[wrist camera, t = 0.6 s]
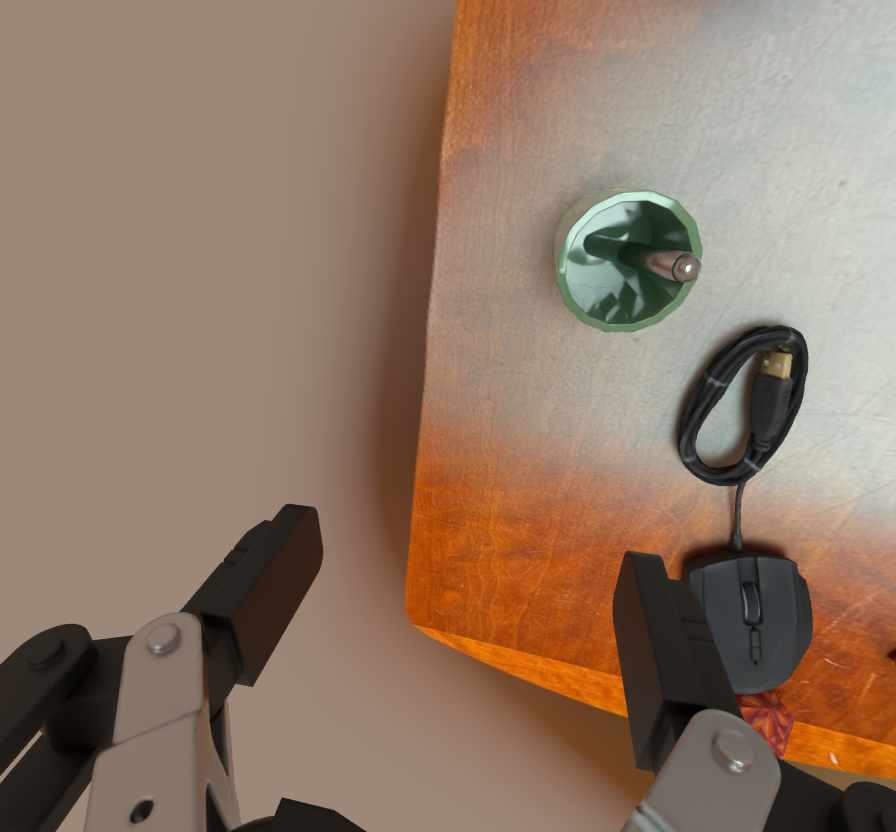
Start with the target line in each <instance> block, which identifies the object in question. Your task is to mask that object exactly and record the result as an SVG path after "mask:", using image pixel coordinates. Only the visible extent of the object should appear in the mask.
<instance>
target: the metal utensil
mask: <svg viewBox="0 0 896 832" xmlns="http://www.w3.org/2000/svg"><path fill="white" fill-rule="evenodd" d="M584 248H585V251H586V253H587V254H589V255H591V256H594V257H597V258H600V259H604V260H607V261H610V262H614V263H617V264H620V265H624V266H627V267H630V268H634V269H637V270H640V271H644V272H647V273H650V274H654V275H657V276H660V277H664V278H667V279H670V280H674V281H677V282H681V283H685V282H690V281H692V280H694V279H695V278H696V277H697V276H698V275H699V273H700V271H701V268H702V263H701V260H700V258H699V257H698V256H697V255H695V254H693V253H689V252H684V251H678V250H673V249H668V248H663V247H658V246H653V245H648V244H643V243H638V242H632V241H627V240H622V239H617V238H612V237H607V236H602V235H592V236H590V237H589V238H588V239H587V240H586V242H585V245H584Z"/></svg>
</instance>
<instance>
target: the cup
mask: <svg viewBox="0 0 896 832" xmlns="http://www.w3.org/2000/svg"><path fill="white" fill-rule="evenodd" d="M592 235H602V236H607V237H612V238H617V239H622V240H627V241H632V242H638V243H643V244H648V245H653V246H658V247H663V248H668V249H673V250H678V251H684V252H689V253H693V254H695V255H697V256H698V257H699V258H700V260H701V257H702V249H703V248H702V244H701V240H700V236H699V232H698V228H697V224H696V223H695V220H694V219H693V218H692V217H691V216H690V215H689V213H688V212H687V211H686V210H685V209H684V208H683V207H682V205H681V204H680V203H679V202H677V201H676V200H674V199H671V198H669V197H666V196H664V195H661V194H659V193H656V192H654V191H650V190H639V189H627V188H607V189H598V190H596V191H594V192H591V193H589V194H587V195H585V196H583V197H582V198H580V199H578V200H577V201H576V202H575V203H574V204H573V205H572V206H571V207H570V208H569V209H568V210H567V211H566V213H565V214H564V216H563V217H562V219H561V221H560V223H559V225H558V227H557V230H556V233H555V236H554V262H555V270H556V277H557V283H558V286H559V289H560V292H561V294H562V297H563V300H564V302H565V305H566V306H567V307H568V308H569V309H570V310H571V311H572V312H573V313H574V314H575V315H576V316H577V317H578V318H579V319H580V320H581V322H583V323H584V324H587V325H589V326H592V327H594V328H597V329H599V330H602V331H604V332H632V331H633V332H634V331H637V330H640V329H642V328H645V327H648V326H651V325H653V324H656V323H658V322H660V321H661V320H663V319H664V318H665V317H666V316H668V315H669V314H670V313H671V312H672V311H674V310H675V309H676V308H677V307H679V306H680V305H681V303H683V301H684V300H685V298H686V296H687V295H688V293H689V291H690V290H691V288H692V287H693V285H694V283H695V282H696V280H697V278H698V276H697V277H696V278H695V279H694V280H692V281H690V282H685V283H681V282H677V281H674V280H670V279H667V278H664V277H660V276H657V275H654V274H650V273H647V272H644V271H640V270H637V269H634V268H630V267H627V266H624V265H620V264H617V263H614V262H610V261H607V260H604V259H600V258H597V257H594V256H591V255H589V254H587V253H586V251H585V248H584V245H585V242H586V240H587V239H588V238H589V237H590V236H592Z"/></svg>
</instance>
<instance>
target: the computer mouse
mask: <svg viewBox="0 0 896 832" xmlns="http://www.w3.org/2000/svg"><path fill="white" fill-rule="evenodd" d="M771 345H774V346H775V347H776V348H778V349H779V351H773V350H766V351H765V352H764V355H763V360H762V366H761V371H760V372H758V373H756V374H755V378H754V383H753V390H752V397H751V404H750V420H751V430H752V431H751V434H750V437H749V440H748V443H747V447H746V451H745V454H744V455H743V457H742V459H741V460H740V461H739V462H738V463H736V464H734V465H730V466H726V467H720V468H715V467H709V466H707V465H706V464H704V463H703V462H702V461H701V459H700V458H699V456H698V455H697V453H696V448H695V447H696V446H695V442H696V439H697V434H698V431H699V429H700V428H701V425H702V424H703V422H704V420H705V419H706V417H707V415H708V414H709V413H710V411H711V409H712V408H713V407H714V406H715V405H716V404H717V402H718V401H719V400H720V399H721V398H722V396H723V395H724V394H725V391H726V390H727V388H728V386H729V384H730V383H731V382H732V380H733V378H734V377H735V375H736V374H737V372H738V371H739V369H740V368H741V367H742V366H743V365H744V363H745V362H746V361H747V360H748V359H749V358H750V357H751V356H752V355H753V354H754V353H755V352H756V351H758V350H760V349H762V348H764V347H768V346H771ZM807 372H808V350H807V345H806V342H805V339H804V338H803V335H802V334H801V333H800V332H799V331H797V330H796V329H794V328H791V327H787V326H782V325H779V326H773V327H768V326H761V327H756V328H753V329H751V330H748V331H746V332H745V333H743V334H742V335H741V336H740V337H739V338H738V339H736V340H734V341H733V342H731V343H730V344H728V345H727V346H725V347H724V348H723V349H722V350H721V351H720V352H719V353H718V354H717V355H716V356H715V357H714V358H713V359H712V361H711V362H710V364H709V365H708V367H707V368H706V370H705V372H704V374H703V376H702V377H701V379H700V380H699V382H698V384H697V386H696V388H695V390H694V391H693V393H692V396H691V397H690V399H689V401H688V403H687V405H686V408H685V410H684V412H683V414H682V418H681V421H680V425H679V430H678V437H677V446H678V452H679V455H680V458H681V460H682V462H683V464H684V465H685V467H686V468H687V469H688V470H689V471H690V472H691V473H692V474H693V475H695V476H696V477H697V478H699V479H701V480H702V481H704V482H706V483H709V484H713V485H717V486H736V485H738V487H737V491H736V498H735V533H734V534H733V539H732V548H731V550H730V551H719V552H715V553H712V554H708V555H705V556H701V557H698V558H695V559H692V560H689V561H687V562H685V563H684V565H683V575H682V581H684V582H685V584H686V585H687V586H688V587H689V588H690V590H691V591H692V592H693V593H694V594H695V595H696V597H697V598H698V599H699V600H700V603H701V605H702V608H703V611H704V613H705V616H706V619H707V621H708V622H707V625H708V626H709V627H710V630H711V632H712V635H713V638H714V644H716V646H717V648H718V651H719V654H720V656H721V659H722V662H723V665H724V667H725V670H726V673H727V675H728V678H729V681H730V683H731V686H732V689H733V691H734V694H745V695H747V694H756V693H762V692H765V691H769V690H772V689H774V688H776V687H778V686H780V685H781V684H783V683H784V682H785V681H787V680H788V679H789V678H790V677H791V676H792V674H793V673H794V671H795V669H796V668H797V666H798V664H799V662H800V661H801V659H802V657H803V655H804V654H805V652H806V651H807V649H808V647H809V645H810V643H811V638H812V630H813V618H812V607H811V601H810V596H809V591H808V587H807V583H806V580H805V579H804V578H802V577H801V576H799V575H798V569H797V563H796V562H794V561H792V560H790V559H788V558H786V557H783V556H778V555H773V554H768V553H762V552H755V551H749V550H743V549H742V542H743V541H742V538H743V537H742V535H741V528H740V525H741V523H740V522H741V512H740V510H741V499H742V494H743V489H744V486H745V484H746V482H747V481H748V480H749V479H750V478H751V477H753V476H754V475H755V474H756V473H757V472H759V471H760V470H761V469H762V468H763V466H764V465H765V464H766V462H767V461H768V460H769V459H770V458H771V457H772V455H773V454H774V453H775V452H776V450H777V449H778V448H779V446H780V445H781V444H782V442H783V441H784V439H785V437H786V436H787V434H788V432H789V430H790V428H791V426H792V424H793V421H794V420H795V416H796V415H797V413H798V410H799V408H800V406H801V403H802V399H803V394H804V385H805V381H806V376H807Z"/></svg>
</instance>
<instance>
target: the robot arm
mask: <svg viewBox="0 0 896 832" xmlns="http://www.w3.org/2000/svg"><path fill="white" fill-rule="evenodd" d="M322 559H323V545H322V538H321V531H320V525H319V519H318V513H317V510H316V508H314V507H309V506H302V505H294V504H286V505H285V506H284V507H282V509H281V510H280V511H279V513H278V514H277V515H276V516H275V517H274V519H273V520H272V521H268V520H264V521H263V522H261V523H260V524H258V525H257V526H255V527H254V528H252V529H251V530H249V531H248V532H246V534H245V535H244V536H243V537H242V538H241V539H240V541H239V542H238V543H237V544H236V545H235V547H234V550H231V551H230V553H229V554H228V555H227V556H226V557H225V558H224V562H223V563H220V565H219V566H218V567H217V568H216V569H215V570H214V572H213V573H212V574H211V575H210V576H209V577H208V579H207V580H206V581H205V582H204V583H203V585H202V586H201V587H200V588H199V589H198V591H197V592H196V593H195V594H194V595H193V597H192V598H191V599H190V600H189V601H188V603H187V604H186V605H185V606H184V607H183V608H182V609H181V611H180V612H176V613H170V614H166V615H163V616H161V617H158V618H157V619H154V620H152V621H151V622H149V623H148V624H146V625H145V626H143V627H142V628H141V629H140V630H139V631H138V632H137V633H136V634H135V635H132V636H124V637H116V638H109V639H100V640H92V638H91V636H90V634H89V632H88V631H87V629H86V628H85V627H83V626H81V625H78V624H65V625H60V626H56V627H53V628H50V629H48V630H45V631H43V632H41V633H39V634H37V635H35V636H34V637H32V638H30V639H29V640H27V641H26V642H25V643H23V644H22V645H21V646H20V647H19V648H17V649H16V650H15V651H14V652H13V653H12V654H11V655H10V656H9V657H8V658H7V659H6V660H5V661H4V662H3V663H1V664H0V776H1V774H2V773H3V772H4V771H5V770H6V768H8V766H9V765H10V764H11V763H12V762H13V761H14V759H15V758H16V757H17V756H18V755H19V754H20V752H21V751H22V750H23V749H24V747H26V745H27V744H28V743H29V742H30V741H31V739H32V738H33V737H34V736H35V735H36V734H37V732H38V731H39V730H40V731H41V733H42V735H41V736H40V737H39V738H38V739H37V741H36V742H35V743H34V744H33V745H32V747H31V748H30V749H29V750H28V751H27V752H26V754H25V755H24V756H23V757H22V759H21V760H20V761H19V762H18V763H17V764H16V766H15V767H14V768H13V769H12V770H11V772H10V773H9V774H8V775H7V776H6V777H5V778H4V780H3V781H2V782H1V783H0V832H55V831H56V830H57V829H58V827H59V826H60V825H61V823H62V822H63V820H64V819H65V817H66V816H67V814H68V813H69V812H70V810H71V809H72V807H73V806H74V805H75V803H76V802H77V800H78V799H79V797H80V796H81V795H82V793H83V792H84V790H85V789H86V787H87V786H88V784H89V783H90V782H91V787H90V793H89V799H88V806H87V812H86V818H85V824H84V831H83V832H366V831H365V830H363V829H361V828H360V827H359V826H357V825H356V824H354V823H353V822H351V821H350V820H348V819H347V818H345V817H344V816H342V815H340V814H339V813H338V812H336V811H334V810H331V809H327V808H323V807H319V806H315V805H311V804H307V803H302V802H299V801H294V800H291V799H286V798H282V799H281V801H280V804H279V806H278V808H277V810H276V813H275V816H269V817H264V818H260V819H257V820H253V821H251V822H248V823H246V824H243V825H241V818H240V812H239V807H238V802H237V797H236V792H235V785H234V774H233V761H232V747H231V734H230V721H229V708H228V707H229V706H228V700H227V696H228V695H229V693H230V692H231V690H232V688H233V687H234V685H235V684H240V685H245V686H250V687H253V686H254V684H255V682H256V680H257V679H258V677H259V675H260V674H261V671H262V670H263V668H264V666H265V665H266V663H267V661H268V659H269V658H270V656H271V654H272V653H273V651H274V649H275V647H276V646H277V644H278V642H279V640H280V639H281V637H282V635H283V633H284V632H285V630H286V628H287V626H288V625H289V623H290V621H291V619H292V618H293V616H294V614H295V612H296V611H297V609H298V607H299V606H300V604H301V602H302V600H303V599H304V597H305V595H306V593H307V591H308V590H309V588H310V586H311V585H312V583H313V581H314V579H315V577H316V576H317V574H318V572H319V570H320V567H321V564H322ZM707 622H708V621H707V619H706V616H705V613H704V611H703V608H702V605H701V603H700V600H699V599H698V598H697V597H696V595H695V594H694V593H693V592H692V591H691V590H690V588H689V587H688V586H687V585H686V584H685V582H684V581H679V580H672V579H668V576H667V573H666V569H665V566H664V563H663V560H662V558H661V556H660V555H655V554H648V553H641V552H633V551H626V552H625V554H624V557H623V561H622V565H621V569H620V573H619V577H618V581H617V585H616V588H615V592H614V597H613V623H614V629H615V636H616V642H617V648H618V655H619V661H620V667H621V673H622V680H623V686H624V692H625V699H626V705H627V711H628V718H629V724H630V730H631V737H632V743H633V749H634V756H635V762H636V768H637V769H641V770H646V771H652V772H654V776H655V780H654V782H653V783H652V785H651V787H650V788H649V790H648V792H647V793H646V795H645V797H644V799H643V800H642V802H641V803H640V805H639V806H637V807H636V808H635V809H634V810H633V812H632V813H631V815H630V816H629V818H628V820H627V821H626V823H625V824H624V826H623V828H622V829H621V831H620V832H896V791H894V790H892V789H890V788H887V787H885V786H883V785H880V784H876V783H872V782H856V783H853V784H851V785H850V786H848V787H847V789H846V790H845V791H842V790H840V789H838V788H836V787H834V786H832V785H830V784H828V783H826V782H824V781H822V780H820V779H817V778H816V777H814V776H811V775H809V774H807V773H805V772H803V771H801V770H799V769H797V768H795V767H794V766H792V765H790V764H788V763H787V762H785V761H784V760H782V759H781V758H779V757H778V756H776V755H775V754H774V753H773V751H772V749H771V748H770V746H769V745H768V743H767V742H766V741H765V739H764V738H763V737H762V736H761V735H760V734H759V733H758V732H757V731H756V730H755V729H754V728H753V727H752V726H750V725H749V724H748V723H747V722H746V721H745V719H744V717H743V715H742V713H741V710H740V708H739V705H738V702H737V700H736V697H735V694H734V691H733V689H732V686H731V683H730V681H729V678H728V675H727V673H726V670H725V667H724V665H723V662H722V659H721V656H720V654H719V651H718V648H717V646H716V644H714V638H713V635H712V632H711V630H710V627H709V626H708V625H707ZM91 780H92V781H91Z"/></svg>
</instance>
